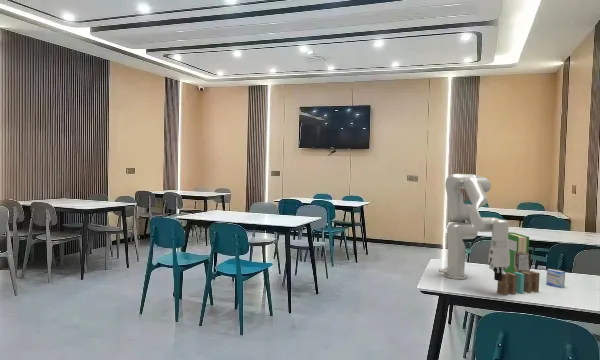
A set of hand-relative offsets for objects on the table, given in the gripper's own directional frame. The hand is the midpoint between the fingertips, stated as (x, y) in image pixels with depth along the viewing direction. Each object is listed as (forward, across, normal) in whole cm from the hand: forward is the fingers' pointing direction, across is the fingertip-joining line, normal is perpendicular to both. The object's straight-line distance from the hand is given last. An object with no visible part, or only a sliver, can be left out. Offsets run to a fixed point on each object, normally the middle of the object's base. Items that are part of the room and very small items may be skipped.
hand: (497, 280), depth 223 cm
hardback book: (+7, +47, +35) cm, 59 cm away
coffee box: (+7, +35, +18) cm, 40 cm away
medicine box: (+7, +46, +6) cm, 47 cm away
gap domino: (+7, +14, 0) cm, 16 cm away
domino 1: (+7, +3, 0) cm, 8 cm away
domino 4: (+7, +24, 0) cm, 25 cm away
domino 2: (+7, +9, 0) cm, 11 cm away
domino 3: (+7, +19, 0) cm, 20 cm away
